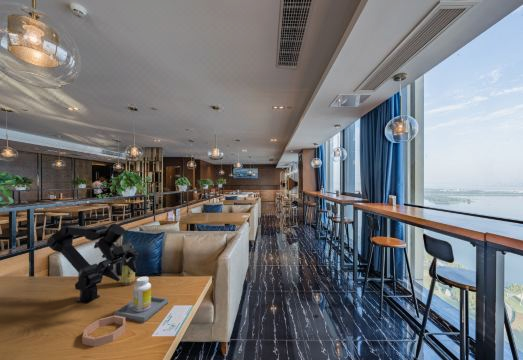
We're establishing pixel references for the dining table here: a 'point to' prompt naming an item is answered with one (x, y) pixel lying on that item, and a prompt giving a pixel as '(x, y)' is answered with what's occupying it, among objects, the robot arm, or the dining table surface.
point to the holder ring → (106, 338)
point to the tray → (142, 316)
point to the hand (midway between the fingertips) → (128, 276)
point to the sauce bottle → (127, 273)
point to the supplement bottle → (142, 294)
